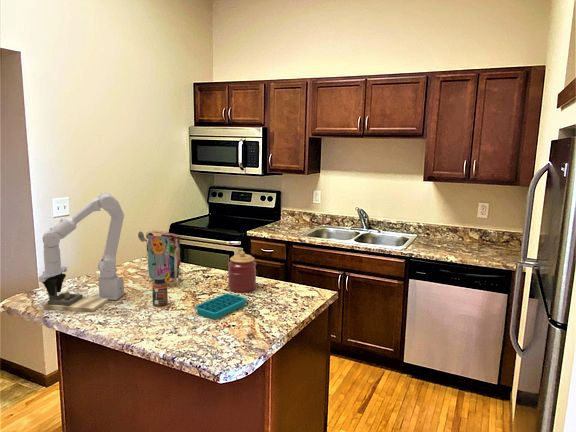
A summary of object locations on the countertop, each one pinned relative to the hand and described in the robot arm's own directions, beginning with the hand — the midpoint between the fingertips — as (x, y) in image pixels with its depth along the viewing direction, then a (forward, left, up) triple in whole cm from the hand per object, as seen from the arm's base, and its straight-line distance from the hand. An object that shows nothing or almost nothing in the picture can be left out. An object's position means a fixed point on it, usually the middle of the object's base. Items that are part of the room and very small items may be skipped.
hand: (54, 293), depth 169 cm
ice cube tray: (-67, -5, -5) cm, 68 cm away
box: (-29, -33, -5) cm, 45 cm away
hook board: (-9, 0, -4) cm, 10 cm away
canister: (-70, -31, -5) cm, 77 cm away
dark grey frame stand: (-4, 0, -3) cm, 5 cm away
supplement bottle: (-41, -6, -5) cm, 42 cm away
